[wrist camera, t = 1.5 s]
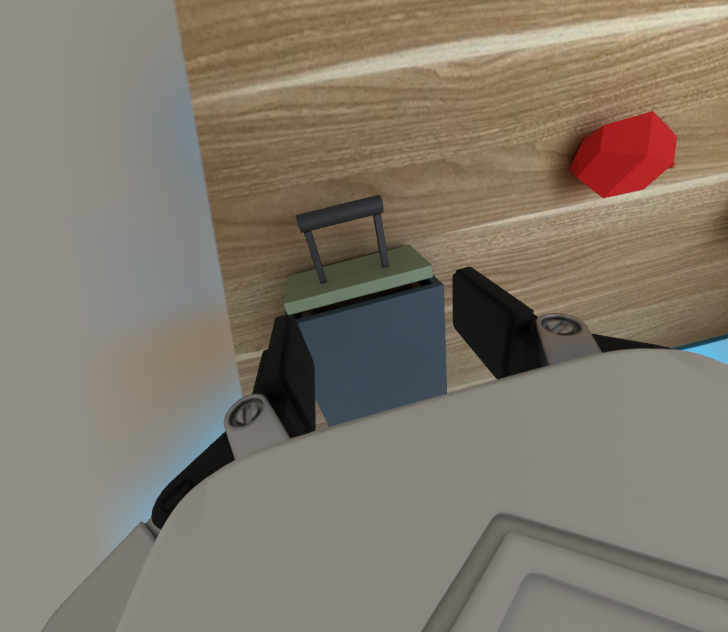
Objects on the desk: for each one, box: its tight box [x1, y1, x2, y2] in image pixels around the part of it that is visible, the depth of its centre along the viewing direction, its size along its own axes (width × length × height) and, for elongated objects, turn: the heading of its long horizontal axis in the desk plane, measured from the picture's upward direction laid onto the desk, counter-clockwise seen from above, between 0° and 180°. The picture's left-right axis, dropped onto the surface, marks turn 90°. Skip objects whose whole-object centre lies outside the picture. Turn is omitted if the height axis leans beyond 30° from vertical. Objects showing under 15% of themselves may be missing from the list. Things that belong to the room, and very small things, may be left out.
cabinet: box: [285, 275, 447, 427], centre depth 30 cm, size 17×15×8 cm
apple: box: [569, 111, 677, 198], centre depth 25 cm, size 7×7×8 cm
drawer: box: [283, 195, 433, 318], centre depth 27 cm, size 22×13×6 cm, turn 11°
